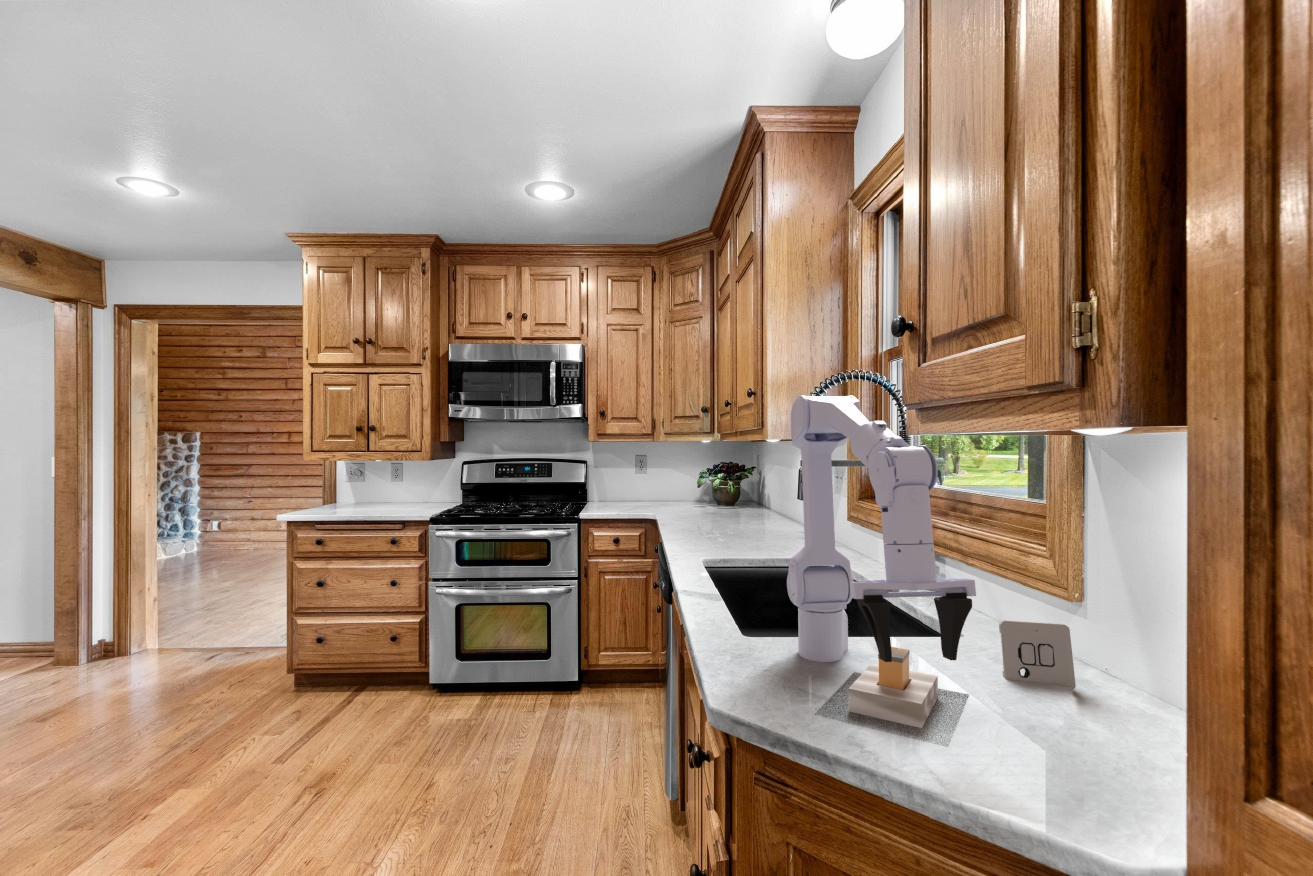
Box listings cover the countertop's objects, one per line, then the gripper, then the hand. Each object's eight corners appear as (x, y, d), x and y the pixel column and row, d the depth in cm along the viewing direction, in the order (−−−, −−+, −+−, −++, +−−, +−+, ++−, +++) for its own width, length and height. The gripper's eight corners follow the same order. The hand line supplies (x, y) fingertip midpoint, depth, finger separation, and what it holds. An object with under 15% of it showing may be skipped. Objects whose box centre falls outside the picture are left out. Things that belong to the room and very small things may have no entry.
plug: (886, 696, 87) (885, 645, 87) (909, 701, 85) (909, 649, 85) (878, 706, 84) (878, 654, 84) (903, 712, 82) (902, 658, 82)
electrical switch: (1004, 686, 93) (1002, 622, 94) (996, 677, 98) (994, 616, 99) (1077, 693, 90) (1074, 627, 91) (1064, 683, 95) (1062, 621, 96)
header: (854, 678, 96) (854, 652, 96) (969, 701, 88) (969, 673, 88) (813, 722, 81) (813, 691, 81) (948, 756, 73) (947, 721, 73)
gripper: (859, 546, 73) (868, 668, 71) (984, 543, 73) (996, 665, 71) (841, 544, 80) (849, 656, 78) (955, 542, 80) (965, 652, 78)
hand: (917, 659), depth 75 cm, fingers open, 7 cm apart
